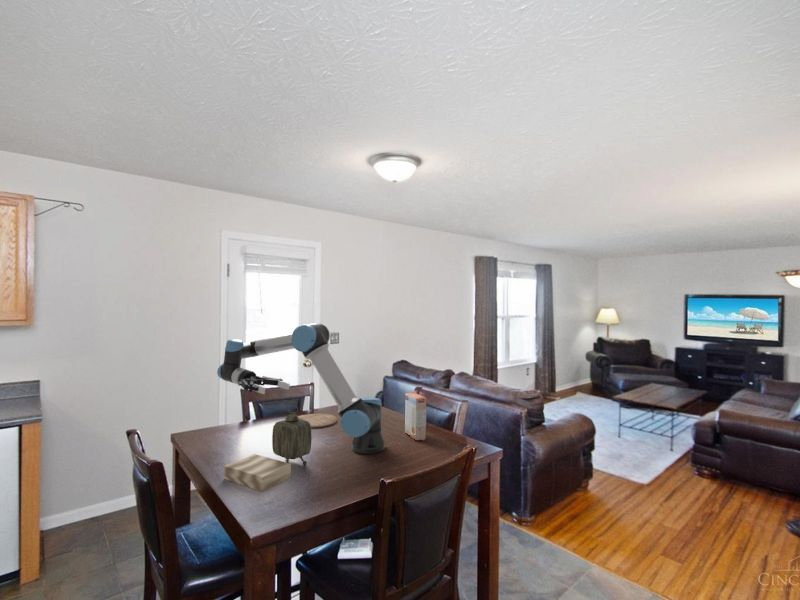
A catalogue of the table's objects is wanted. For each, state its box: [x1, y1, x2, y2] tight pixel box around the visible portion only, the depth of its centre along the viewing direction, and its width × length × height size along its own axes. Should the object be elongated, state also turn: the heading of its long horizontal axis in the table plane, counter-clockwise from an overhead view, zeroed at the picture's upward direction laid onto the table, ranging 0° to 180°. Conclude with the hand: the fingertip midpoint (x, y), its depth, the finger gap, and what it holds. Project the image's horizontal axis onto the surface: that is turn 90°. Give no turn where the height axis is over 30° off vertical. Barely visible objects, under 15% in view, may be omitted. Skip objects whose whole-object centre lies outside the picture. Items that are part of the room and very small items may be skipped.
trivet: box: [297, 413, 338, 429], centre depth 225 cm, size 25×25×2 cm
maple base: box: [223, 453, 292, 492], centre depth 150 cm, size 20×14×5 cm
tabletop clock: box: [271, 402, 313, 466], centre depth 164 cm, size 14×9×25 cm, turn 56°
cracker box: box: [404, 392, 427, 441], centre depth 201 cm, size 14×6×21 cm, turn 22°
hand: (277, 388), depth 171 cm, fingers open, 13 cm apart
